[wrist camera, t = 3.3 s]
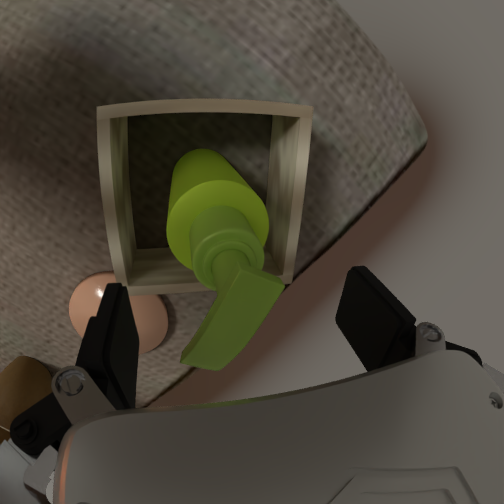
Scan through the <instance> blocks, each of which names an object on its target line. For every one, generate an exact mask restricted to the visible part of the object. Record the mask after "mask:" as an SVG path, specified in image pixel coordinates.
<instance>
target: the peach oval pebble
mask: <svg viewBox="0 0 504 504" xmlns="http://www.w3.org/2000/svg"><path fill="white" fill-rule="evenodd" d="M107 283H116V278H115V274H114V271H104V272H98V273H95V274H92V275H90V276H88V277H86V278H85V279H83V280H82V281H81V282H80V283H79V284H78V285H77V287H76V288H75V290H74V292H73V294H72V297H71V300H70V304H69V314H70V318H71V322H72V324H73V326H74V328H75V329H76V331H77V332H78V333H79V335H80V336H81V337H82V338H83V336H84V333H85V330H86V327H87V324H88V321H89V319H90V317H91V316H96V314H97V311H98V308H99V305H100V302H101V299H102V296H103V293H104V290H105V288H106V285H107ZM129 299H130V303H131V307H132V311H133V315H134V319H135V323H136V327H137V331H138V335H139V341H140V345H139V355H140V354H143V353H146V352H148V351H151V350H152V349H154V348H155V347H157V346H158V345H159V344H160V343H161V342H162V340H163V339H164V337H165V335H166V333H167V329H168V312H167V308H166V305H165V303H164V301H163V299H162V297H161V296H160V295H159V294H157V295H139V296H129Z"/></svg>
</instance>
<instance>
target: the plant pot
mask: <svg viewBox="0 0 504 504" xmlns="http://www.w3.org/2000/svg"><path fill="white" fill-rule="evenodd" d="M51 384H52V379H51V375H50V373H49V371H48V370H47V368H46V367H45V366H43V365H42V364H41V363H40V362H38V361H37V360H35V359H33V358H30V357H27V356H19V357H17V358H16V359H15V360H14V361H13V362H11V363H10V364H9V365H8V366H7V367H6V368H5V369H4V370H3V371H2V372H1V373H0V445H1V444H2V442H3V441H4V440H6V441H7V442H8V440H9V439H10V438H11V437H10V425H11V423H12V421H13V419H14V418H16V417H17V416H18V415H19V414H21V413H22V412H24V411H25V410H27V409H28V408H30V407H31V406H33V405H34V404H35V403H37V402H38V401H40V400H41V399H43V398H44V397H46V396H47V395H49V394H50V393H52V392H53V391H52V388H51Z"/></svg>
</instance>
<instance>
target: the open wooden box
mask: <svg viewBox="0 0 504 504" xmlns="http://www.w3.org/2000/svg"><path fill="white" fill-rule="evenodd" d="M185 112H231V113H254V114H269V115H273V116H272V130H271V144H270V157H269V171H268V184H267V196H266V210H267V213H268V218H269V232H268V236H267V240H266V242H265V245H264V247H263V250H264V265H263V268H262V270H261V271H264V272H266V273H269V274H272V275H274V276H277V277H279V278H281V280H282V282H283V284H290V283H292V278H293V272H294V265H295V259H296V252H297V245H298V238H299V231H300V224H301V216H302V209H303V201H304V193H305V184H306V176H307V167H308V158H309V148H310V138H311V127H312V116H313V107H312V106H305V105H297V104H289V103H280V102H269V101H257V100H240V99H169V100H152V101H140V102H130V103H121V104H113V105H105V106H99V107H97V145H98V162H99V175H100V185H101V195H102V203H103V211H104V218H105V225H106V231H107V237H108V243H109V249H110V254H111V259H112V264H113V269H114V274H115V278H116V283H122V286H126V287H127V290H128V294H129V296H139V295H157V294H173V293H187V292H201V291H214V290H211V289H209V288H207V287H205V286H204V285H202V284H201V283H200V282H199V281H198V279H197V278H196V276H195V274H194V272H193V270H191V269H189V268H187V267H186V266H184V265H183V264H182V263H181V262H180V261H179V260H178V259H177V258H176V257H175V256H174V254H173V252H172V251H171V249H170V247H167V248H151V249H137V247H136V239H135V231H134V223H133V214H132V203H131V192H130V178H129V161H128V116H136V115H147V114H162V113H185Z"/></svg>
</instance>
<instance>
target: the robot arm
mask: <svg viewBox="0 0 504 504" xmlns="http://www.w3.org/2000/svg"><path fill="white" fill-rule="evenodd" d="M335 318H336V324H337V325H338V327H339V328H340V330H341V331H342V333H343V334H344V336H345V337H346V339H347V341H348V342H349V344H350V345H351V347H352V348H353V350H354V351H355V353H356V354H357V356H358V358H359V359H360V361H361V362H362V364H363V365H364V367H365V368H366V370H367V372H366V373H363V374H359V375H356V376H352V377H349V378H345V379H341V380H337V381H333V382H329V383H325V384H321V385H317V386H313V387H308V388H304V389H299V390H294V391H289V392H284V393H279V394H273V395H268V396H262V397H255V398H248V399H242V400H235V401H226V402H217V403H207V404H196V405H184V406H168V407H149V408H135V398H136V380H137V367H138V355H139V345H140V341H139V335H138V331H137V327H136V323H135V319H134V315H133V311H132V307H131V303H130V299H129V294H128V290H127V287H126V286H122V283H107V285H106V288H105V290H104V293H103V296H102V299H101V302H100V305H99V308H98V311H97V314H96V316H91V317H90V319H89V321H88V324H87V327H86V330H85V333H84V336H83V340H82V343H81V347H80V350H79V353H78V357H77V361H76V364H75V366H67V367H64V368H62V369H61V370H59V371H58V372H57V373H56V374H55V375H54V377H53V379H52V384H51V388H52V391H53V392H52V393H50V394H49V395H47V396H46V397H44V398H43V399H41V400H40V401H38V402H37V403H35V404H34V405H33V406H31V407H30V408H28V409H27V410H25V411H24V412H22V413H21V414H19V415H18V416H17V417H16V418H14V419H13V421H12V423H11V425H10V437H11V438H10V439H9V440H8V442H7V441H6V440H4V441H3V442H2V444H1V445H0V504H51V503H50V502H49V501H48V499H47V497H46V487H47V485H48V483H49V482H50V480H51V479H50V478H49V476H50V475H51V473H52V472H53V471H55V473H54V485H53V504H504V374H502V373H501V372H499V371H497V370H496V369H494V368H492V367H491V366H489V365H487V364H485V363H484V364H483V365H482V361H481V358H480V357H479V356H478V354H477V352H475V351H474V350H471V349H468V348H465V347H462V346H459V345H456V344H453V343H450V342H447V341H445V336H444V333H443V332H442V330H441V329H440V328H439V327H438V326H436V325H435V324H432V323H429V322H422V323H420V324H418V325H417V327H416V326H415V325H414V324H415V322H416V318H415V317H414V316H413V315H412V314H411V313H410V312H409V311H408V309H407V308H406V307H405V306H404V305H403V304H402V303H401V302H400V301H399V300H398V299H397V298H396V297H395V296H394V295H393V294H392V293H391V292H390V291H389V290H388V289H387V288H386V287H385V285H384V284H383V283H382V282H380V280H378V279H377V277H376V276H375V275H374V274H373V273H372V272H370V270H368V268H367V267H365V266H354V267H352V268H351V270H349V271H348V273H347V277H346V281H345V285H344V288H343V292H342V296H341V299H340V303H339V306H338V310H337V314H336V317H335Z"/></svg>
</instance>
